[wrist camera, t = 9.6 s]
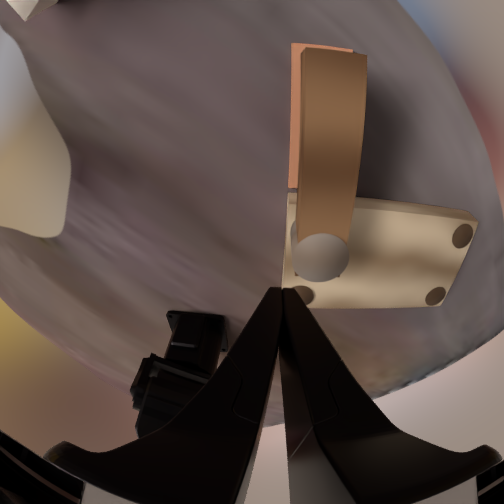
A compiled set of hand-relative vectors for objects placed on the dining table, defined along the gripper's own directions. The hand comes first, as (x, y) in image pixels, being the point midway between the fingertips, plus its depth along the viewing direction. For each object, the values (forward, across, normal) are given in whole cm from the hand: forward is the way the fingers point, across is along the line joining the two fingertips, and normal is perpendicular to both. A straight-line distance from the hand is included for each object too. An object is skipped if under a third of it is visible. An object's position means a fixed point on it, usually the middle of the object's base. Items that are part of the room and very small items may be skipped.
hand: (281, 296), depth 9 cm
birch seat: (+12, -9, +6) cm, 16 cm away
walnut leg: (+10, -3, -2) cm, 10 cm away
